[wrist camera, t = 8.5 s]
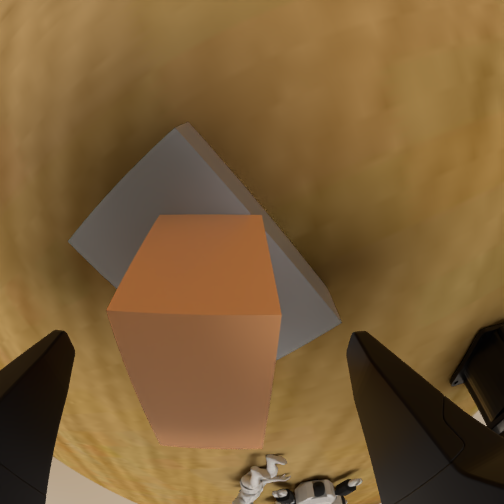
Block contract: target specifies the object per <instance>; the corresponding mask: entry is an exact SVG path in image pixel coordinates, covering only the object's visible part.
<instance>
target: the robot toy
mask: <svg viewBox="0 0 504 504" xmlns="http://www.w3.org/2000/svg"><path fill="white" fill-rule="evenodd" d="M361 483H362V479H361V478H360V479H352V480H351V479H347V480H345V481H343V482H342V483H340V484H339V485H337V486H336V489H335V491H334V487H333V483H332V482H330V481H329V480H327V479H326V480H314V481H308V482H303V483H300V485H299V486H298V487H297V488H296V489H295V496H294V495H293V492H292V491H290V490H289V489H280V490H278V491H273V493H272V495H273V496H274V497H276V500H277V501H275V503H274V504H347V500H345V498H344V497H343V496H345V495H348V494H349V493H351V492H353V491H354V490H356V486H357V485H360V484H361Z"/></svg>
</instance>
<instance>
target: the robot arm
mask: <svg viewBox="0 0 504 504" xmlns="http://www.w3.org/2000/svg"><path fill="white" fill-rule="evenodd" d="M74 357H75V350H74V347H73V345H72V343H71V341H70V339H69V336H68V334H67V333H66V332H65V331H61V330H54V331H52V332H51V333H50V334H48V335H47V336H46V337H44V338H43V339H41V340H40V341H39V342H37V343H36V344H35V345H33V346H32V347H31V348H29V349H28V350H27V351H25V352H24V353H23V354H21V355H20V356H19V357H17V358H16V359H15V360H13V361H12V362H11V363H9V364H8V365H7V366H5V367H4V368H3V369H2V370H0V504H45V501H46V493H47V485H48V479H49V473H50V467H51V462H52V457H53V451H54V447H55V442H56V437H57V433H58V429H59V424H60V420H61V416H62V412H63V408H64V405H65V401H66V397H67V393H68V388H69V383H70V377H71V372H72V367H73V362H74ZM347 362H348V367H349V373H350V378H351V384H352V390H353V396H354V400H355V404H356V408H357V411H358V415H359V418H360V422H361V425H362V429H363V432H364V436H365V440H366V443H367V447H368V451H369V455H370V458H371V462H372V466H373V470H374V474H375V478H376V482H377V486H378V490H379V495H380V499H381V503H382V504H504V323H503V324H499V325H495V326H492V327H488V328H484V329H482V330H481V331H480V332H479V333H478V334H477V336H476V338H475V340H474V342H473V343H472V345H471V347H470V349H469V351H468V352H467V354H466V356H465V357H464V359H463V361H462V362H461V364H460V366H459V367H458V369H457V371H456V372H455V374H454V375H453V377H452V378H451V380H450V385H451V386H456V385H459V384H462V383H464V384H465V385H466V387H467V389H468V391H469V393H470V394H471V396H472V398H473V400H474V402H475V404H476V405H477V407H478V409H479V411H480V413H481V415H482V417H483V419H484V421H485V423H486V425H487V426H485V425H483V424H481V423H480V422H479V421H477V420H476V419H474V418H473V417H472V416H470V415H469V414H467V413H466V412H464V411H463V410H462V409H461V408H459V407H458V406H457V405H456V404H454V403H453V402H452V401H451V400H449V399H448V398H447V397H446V396H444V395H443V394H442V393H441V392H440V391H439V390H437V389H436V388H435V387H434V386H432V385H431V384H430V383H429V382H428V381H426V380H425V379H424V378H423V377H422V376H420V375H419V374H418V373H417V372H416V371H414V370H413V369H412V368H411V367H409V366H408V365H407V364H406V363H405V362H403V361H402V360H401V359H400V358H398V357H397V356H396V355H395V354H394V353H392V352H391V351H390V350H389V349H387V348H386V347H385V346H384V345H383V344H381V343H380V342H379V341H378V340H376V339H375V338H374V337H373V336H372V335H370V334H369V333H368V332H366V331H357V332H353V333H352V335H351V338H350V342H349V345H348V348H347Z"/></svg>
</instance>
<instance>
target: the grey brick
mask: <svg viewBox="0 0 504 504" xmlns="http://www.w3.org/2000/svg"><path fill="white" fill-rule="evenodd" d="M186 214H224V215H262V219H263V223H264V228H265V233H266V238H267V243H268V248H269V253H270V258H271V263H272V268H273V273H274V278H275V283H276V288H277V293H278V298H279V303H280V308H281V314H282V317H281V325H280V333H279V341H278V348H277V356H276V360H278V359H280V358H282V357H284V356H285V355H287V354H289V353H291V352H293V351H294V350H296V349H298V348H300V347H302V346H303V345H305V344H307V343H309V342H310V341H312V340H314V339H315V338H317V337H319V336H321V335H322V334H324V333H326V332H327V331H329V330H331V329H332V328H334V327H335V326H337V325H339V324H340V323H342V322H341V319H340V317H339V314H338V312H337V310H336V307H335V305H334V302H333V300H332V298H331V295H330V293H329V290H328V288H327V287H326V286H325V284H324V283H323V282H322V281H321V279H320V278H319V277H318V275H317V274H316V273H315V272H314V270H313V269H312V268H311V267H310V265H309V264H308V263H307V262H306V260H305V259H304V258H303V257H302V255H301V254H300V253H299V252H298V250H297V249H296V248H295V247H294V245H293V244H292V243H291V242H290V241H289V239H288V238H287V237H286V236H285V234H284V233H283V232H282V231H281V230H280V228H279V227H278V226H277V225H276V223H275V222H274V221H273V220H272V219H271V217H270V216H269V215H268V214H267V213H266V211H265V210H264V209H263V208H262V207H261V205H260V204H259V203H258V202H257V201H256V199H255V198H254V197H253V196H252V195H251V193H250V192H249V191H248V190H247V189H246V187H245V186H244V185H243V184H242V183H241V182H240V180H239V179H238V178H237V177H236V176H235V175H234V173H233V172H232V171H231V170H230V169H229V168H228V166H227V165H226V164H225V163H224V162H223V161H222V159H221V158H220V157H219V156H218V155H217V154H216V153H215V151H214V150H213V149H212V148H211V147H210V146H209V145H208V143H207V142H206V141H205V140H204V139H203V138H202V137H201V135H200V134H199V133H198V132H197V131H196V130H195V129H194V128H193V126H192V125H191V124H190V123H189V122H187V123H184V124H182V125H180V126H177V127H175V128H174V129H173V130H172V131H171V132H169V133H168V134H167V135H166V136H165V137H164V138H163V139H162V140H161V141H160V142H159V143H158V144H156V145H155V146H154V147H153V148H152V149H151V150H150V151H149V152H148V153H147V154H146V155H145V156H144V157H143V158H142V159H141V160H140V161H139V162H138V163H137V164H136V165H135V166H134V167H133V168H132V169H131V170H130V171H129V172H128V173H127V174H126V175H125V176H124V177H123V178H122V179H121V180H120V181H119V182H118V184H117V185H116V186H115V187H114V188H113V189H112V190H111V191H110V192H109V193H108V194H107V195H106V197H105V198H104V199H103V200H102V201H101V202H100V203H99V204H98V206H97V207H96V208H95V209H94V210H93V211H92V212H91V214H90V215H89V216H88V217H87V218H86V220H85V221H84V222H83V223H82V224H81V226H80V227H79V228H78V229H77V230H76V232H75V233H74V234H73V235H72V237H71V238H70V239H69V240H68V242H69V243H70V244H71V245H72V246H73V247H74V248H75V249H76V250H77V251H78V252H79V253H80V254H81V255H82V256H83V257H84V258H85V259H86V260H87V261H88V262H89V263H90V264H91V265H92V266H93V267H94V268H95V269H96V270H97V271H98V272H99V273H100V274H101V275H102V276H103V277H104V278H106V279H107V280H108V281H109V282H110V283H111V284H112V285H113V286H114V287H115V288H116V289H117V288H118V286H119V285H120V283H121V281H122V279H123V277H124V275H125V273H126V272H127V270H128V268H129V266H130V264H131V262H132V261H133V259H134V257H135V255H136V254H137V252H138V250H139V248H140V247H141V245H142V243H143V241H144V240H145V238H146V236H147V235H148V233H149V231H150V230H151V228H152V226H153V225H154V223H155V221H156V220H157V218H158V216H159V215H186Z"/></svg>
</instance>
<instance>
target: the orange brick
mask: <svg viewBox="0 0 504 504" xmlns="http://www.w3.org/2000/svg"><path fill="white" fill-rule="evenodd" d="M106 311H107V315H108V318H109V321H110V324H111V327H112V330H113V333H114V336H115V339H116V342H117V345H118V348H119V351H120V353H121V356H122V359H123V362H124V364H125V367H126V369H127V372H128V375H129V377H130V380H131V382H132V384H133V387H134V389H135V392H136V394H137V396H138V399H139V401H140V403H141V406H142V408H143V410H144V412H145V414H146V417H147V419H148V421H149V423H150V425H151V427H152V429H153V431H154V433H155V435H156V437H157V439H158V441H159V443H160V445H164V446H175V447H187V448H205V449H263V444H264V438H265V431H266V425H267V419H268V412H269V405H270V399H271V392H272V385H273V378H274V371H275V363H276V356H277V348H278V341H279V333H280V325H281V317H282V314H281V308H280V303H279V298H278V293H277V288H276V283H275V278H274V273H273V268H272V263H271V258H270V253H269V248H268V243H267V238H266V233H265V228H264V223H263V219H262V215H224V214H186V215H159V216H158V218H157V220H156V221H155V223H154V225H153V226H152V228H151V230H150V231H149V233H148V235H147V236H146V238H145V240H144V241H143V243H142V245H141V247H140V248H139V250H138V252H137V254H136V255H135V257H134V259H133V261H132V262H131V264H130V266H129V268H128V270H127V272H126V273H125V275H124V277H123V279H122V281H121V283H120V285H119V286H118V288H117V290H116V292H115V294H114V296H113V298H112V300H111V302H110V304H109V306H108V308H107V310H106Z"/></svg>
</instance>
